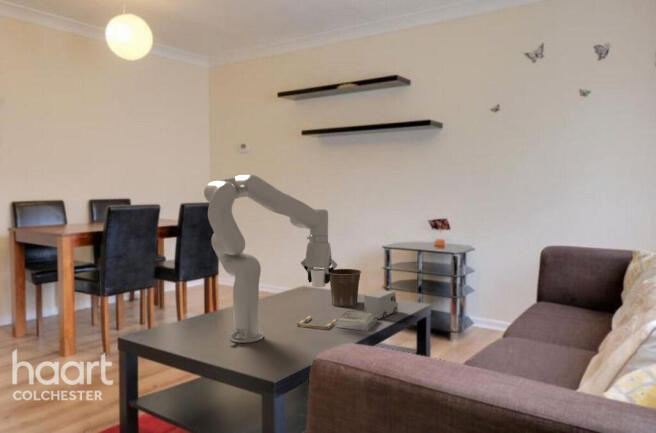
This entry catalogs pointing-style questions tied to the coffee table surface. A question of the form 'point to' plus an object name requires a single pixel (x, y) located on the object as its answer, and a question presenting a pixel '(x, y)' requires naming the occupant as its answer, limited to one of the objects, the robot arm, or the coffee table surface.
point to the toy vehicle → (380, 303)
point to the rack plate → (356, 320)
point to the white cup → (318, 277)
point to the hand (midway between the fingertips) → (318, 282)
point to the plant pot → (344, 287)
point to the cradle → (301, 324)
